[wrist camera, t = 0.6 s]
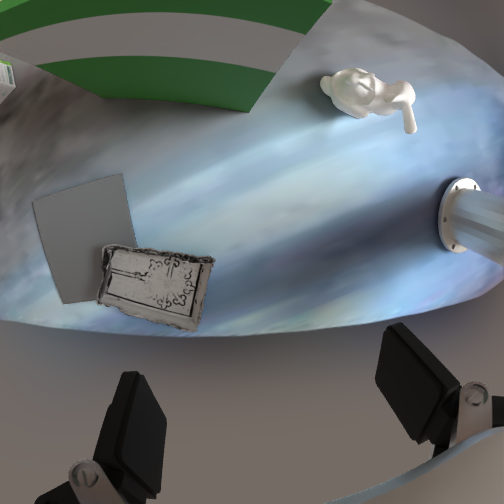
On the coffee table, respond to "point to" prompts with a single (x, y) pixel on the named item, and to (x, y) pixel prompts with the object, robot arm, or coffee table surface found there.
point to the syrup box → (6, 80)
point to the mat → (83, 233)
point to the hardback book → (160, 45)
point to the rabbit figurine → (370, 95)
